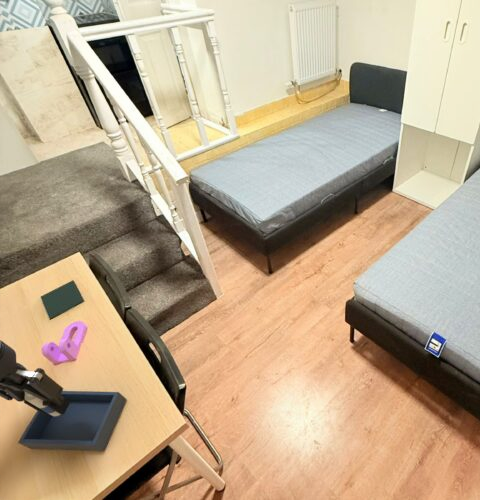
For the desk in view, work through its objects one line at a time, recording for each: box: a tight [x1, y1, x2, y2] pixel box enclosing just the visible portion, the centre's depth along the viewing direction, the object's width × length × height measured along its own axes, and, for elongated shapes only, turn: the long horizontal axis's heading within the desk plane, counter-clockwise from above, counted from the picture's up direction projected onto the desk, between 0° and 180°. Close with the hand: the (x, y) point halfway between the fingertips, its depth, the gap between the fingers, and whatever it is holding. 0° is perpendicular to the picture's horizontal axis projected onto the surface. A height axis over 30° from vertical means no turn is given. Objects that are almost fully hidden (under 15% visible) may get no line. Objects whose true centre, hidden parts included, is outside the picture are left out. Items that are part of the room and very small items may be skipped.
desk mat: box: [40, 279, 85, 321], centre depth 108 cm, size 12×10×1 cm
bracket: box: [41, 320, 88, 365], centre depth 95 cm, size 13×6×7 cm, turn 13°
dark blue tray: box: [17, 390, 127, 452], centre depth 79 cm, size 18×12×5 cm, turn 88°
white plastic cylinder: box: [25, 392, 61, 416], centre depth 71 cm, size 3×3×10 cm
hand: (56, 407), depth 74 cm, fingers closed on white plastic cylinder, 3 cm apart
